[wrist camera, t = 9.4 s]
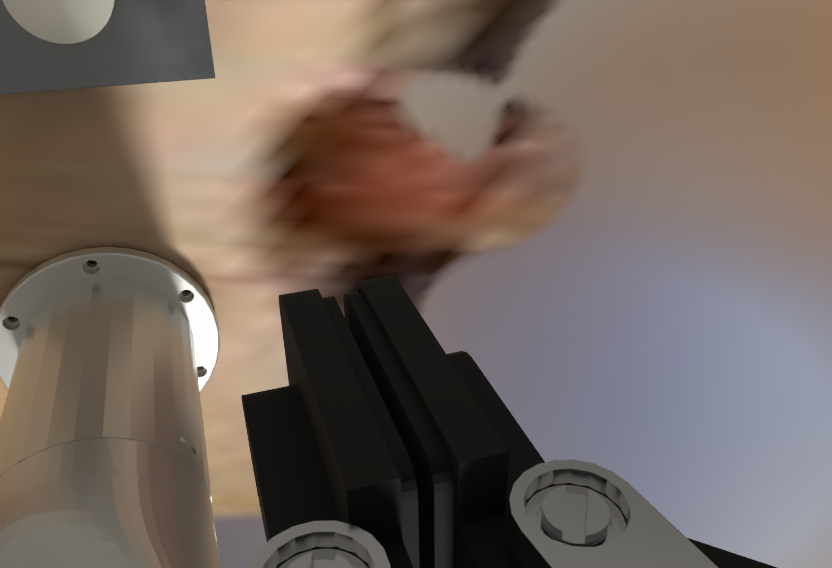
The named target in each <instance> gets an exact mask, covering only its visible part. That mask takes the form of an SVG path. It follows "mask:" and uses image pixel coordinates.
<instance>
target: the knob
mask: <svg viewBox="0 0 832 568" xmlns="http://www.w3.org/2000/svg"><path fill="white" fill-rule="evenodd" d="M2 1H3V3H4V5H5V7H6V8H7V10H8V12H9V13H10V15H11V16H12V17H13V18H14V20H15V21H16V22H17V23H18V24H19V25H20V26H22V27H23V28H24V29H25V30H27V31H28V32H30V33H31V34H33V35H35V36H37V37H39V38H41V39H43V40H46V41H49V42H53V43H60V44H72V43H78V42H82V41H85V40H87V39H90V38H91V37H93V36H95V35H96V34H97V33H99V32H100V31H101V30H102V29H103V28H104V26H105V25H106V23H107V22H108V20H109V18H110V16H111V13H112V10H113V6H114V1H115V0H2Z"/></svg>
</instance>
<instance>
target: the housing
mask: <svg viewBox="0 0 832 568" xmlns="http://www.w3.org/2000/svg"><path fill="white" fill-rule="evenodd" d="M209 78H215V73H214V66H213V58H212V51H211V44H210V36H209V29H208V22H207V14H206V7H205V0H115V1H114V6H113V10H112V13H111V16H110V18H109V20H108V22H107V23H106V25H105V26H104V28H103V29H102V30H101V31H100V32H99V33H97V34H96V35H95V36H93V37H91V38H90V39H87V40H85V41H82V42H78V43H72V44H60V43H53V42H49V41H46V40H43V39H41V38H39V37H37V36H35V35H33V34H31V33H30V32H28V31H27V30H25V29H24V28H23V27H22V26H20V25H19V24H18V23H17V22H16V21H15V20H14V18H13V17H12V16H11V15H10V13H9V12H8V10H7V8H6V7H5V5H4V3H3V1H2V0H0V94H13V93H26V92H39V91H52V90H65V89H78V88H91V87H104V86H117V85H131V84H144V83H157V82H170V81H183V80H196V79H209Z"/></svg>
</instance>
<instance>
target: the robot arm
mask: <svg viewBox="0 0 832 568" xmlns="http://www.w3.org/2000/svg"><path fill="white" fill-rule="evenodd" d="M89 260H93V261H96V263H95V264H90V263H88V261H89ZM183 290H190V291H189V292H187V293H185V292H182V291H183ZM279 306H280V315H281V323H282V331H283V339H284V347H285V355H286V364H287V372H288V380H289V386H287V387H282V388H277V389H272V390H267V391H262V392H257V393H252V394H247V395H242V403H243V410H244V416H245V422H246V428H247V434H248V440H249V446H250V452H251V458H252V464H253V470H254V475H255V481H256V486H257V492H258V497H259V503H260V508H261V513H262V519H263V524H264V529H265V534H266V540H267V543H266V544H265V545H264V546H263V547H261V548H260V549H259V550H258V551H257V553H256V554H255V556H254V558H253V559H252V561H251V562H250V564H249V566H248V567H247V568H776V567H773V566H770V565H767V564H764V563H761V562H758V561H755V560H752V559H749V558H746V557H743V556H740V555H737V554H734V553H731V552H728V551H725V550H722V549H719V548H716V547H713V546H710V545H707V544H704V543H701V542H698V541H695V540H692V539H689V538H686V537H685V536H684V535H683V534H682V533H681V532H680V531H679V530H678V529H676V527H675V526H674V525H672V524H671V523H670V522H669V521H668V520H667V519H666V518H665V517H664V516H663V515H662V514H661V513H660V512H658V511H657V509H655V508H654V507H653V506H652V505H651V504H650V503H649V502H648V501H647V500H646V499H645V498H644V497H643V496H642V495H641V494H640V493H638V492H637V491H636V490H635V489H634V488H633V487H632V486H631V485H630V484H629V483H628V482H626V481H625V480H624V479H622V478H621V477H619V476H618V475H617V474H615V473H614V472H612V471H610V470H607V469H606V468H603V467H601V466H598V465H596V464H593V463H588V462H584V461H579V460H553V461H549V462H544V460H543V459H542V457H541V456H540V454H539V453H538V452H537V450H536V449H535V448H534V446H533V444H532V443H531V442H530V440H529V439H528V437H527V436H526V434H525V433H524V431H523V430H522V429H521V427H520V426H519V424H518V423H517V422H516V420H515V419H514V417H513V416H512V414H511V413H510V411H509V410H508V409H507V407H506V406H505V404H504V403H503V402H502V400H501V399H500V397H499V396H498V394H497V393H496V392H495V390H494V389H493V387H492V386H491V384H490V383H489V382H488V380H487V379H486V377H485V376H484V374H483V373H482V371H481V370H480V369H479V367H478V366H477V364H476V363H475V361H474V360H473V359H472V357H471V356H470V355H469V354H468V353H467V352H463V351H460V352H455V353H451V354H446V353H445V352H444V350H443V349H442V347H441V346H440V344H439V342H438V341H437V340H436V338H435V336H434V335H433V333H432V332H431V330H430V329H429V327H428V326H427V324H426V322H425V321H424V319H423V318H422V316H421V315H420V313H419V312H418V310H417V309H416V307H415V306H414V304H413V302H412V301H411V299H410V298H409V296H408V295H407V293H406V292H405V290H404V289H403V287H402V285H401V284H400V282H399V281H398V279H397V278H396V277H395V276H391V277H385V278H379V279H373V280H367V281H361V282H357V284H356V292H355V293H349V294H345V295H344V313H345V318H344V316H343V313H342V311H341V309H340V307H339V305H338V303H337V301H336V299H335V297H334V296H332V297H326V298H322V296H321V294H320V292H319V290H318V289H314V290H308V291H302V292H296V293H290V294H284V295H279ZM9 316H10V317H15V318H16V319H12V318H10V317H9ZM219 347H220V345H219V328H218V323H217V318H216V314H215V312H214V309H213V307H212V305H211V302H210V300H209V298H208V297H207V295H206V294H205V292H204V291H203V290H202V288H201V287H200V285H199V284H198V283H197V282H196V281H195V280H193V279H192V278H191V277H190V276H189V275H188V274H187V273H186V272H185V271H183V270H182V269H180V268H179V267H177V266H175V265H174V264H172V263H171V262H169V261H167V260H165V259H162V258H160V257H157V256H155V255H153V254H150V253H146V252H142V251H138V250H134V249H129V248H117V247H98V248H87V249H81V250H77V251H73V252H69V253H65V254H62V255H59V256H57V257H55V258H53V259H51V260H48V261H46V262H44V263H42V264H40V265H39V266H37V267H36V268H34V269H33V270H32V271H30V272H29V273H27V274H26V275H24V276H23V277H22V278H21V280H20V281H19V282H18V283H17V284H16V285H15V286H14V287H13V288H12V289H11V290H10V291H9V293H8V295H7V297H6V298H5V300H4V302H3V303H2V305H1V307H0V379H1V380H2V382H3V384H4V385H5V387H6V388H7V390H8V394H7V397H6V401H5V405H4V409H3V412H2V416H1V420H0V568H221V567H220V561H219V556H218V555H219V554H218V548H217V541H216V533H215V525H214V516H213V507H212V497H211V489H210V480H209V471H208V462H207V453H206V444H205V435H204V426H203V417H202V408H201V400H200V392H201V390H202V389H203V387H204V386H205V384H206V383H207V381H208V380H209V379H210V377H211V374H212V372H213V370H214V367H215V365H216V363H217V357H218V352H219ZM197 366H200V367H197Z"/></svg>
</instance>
